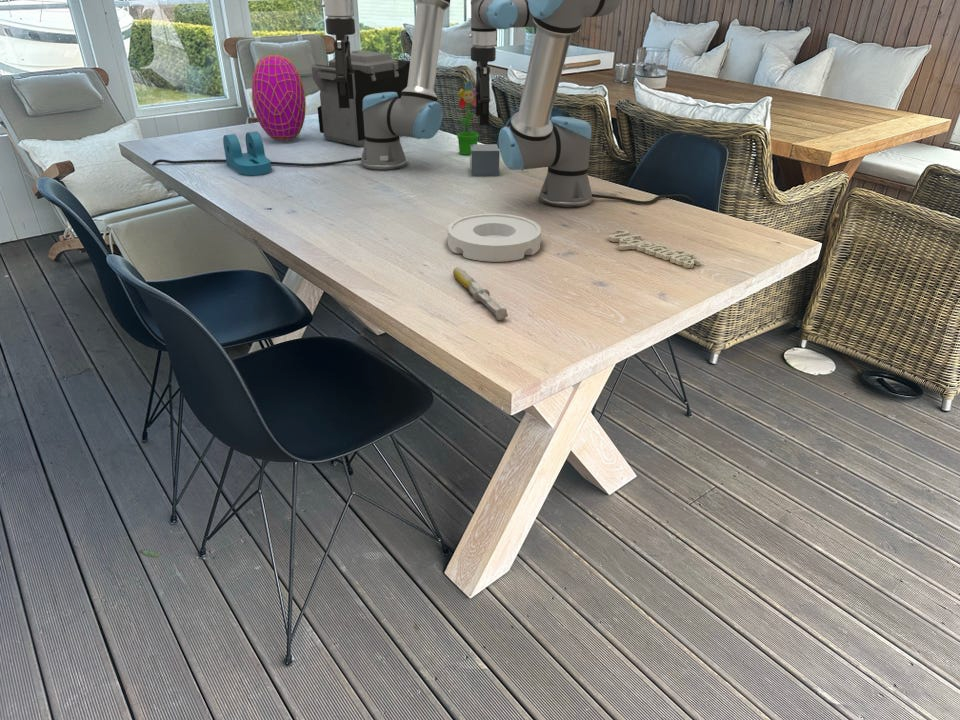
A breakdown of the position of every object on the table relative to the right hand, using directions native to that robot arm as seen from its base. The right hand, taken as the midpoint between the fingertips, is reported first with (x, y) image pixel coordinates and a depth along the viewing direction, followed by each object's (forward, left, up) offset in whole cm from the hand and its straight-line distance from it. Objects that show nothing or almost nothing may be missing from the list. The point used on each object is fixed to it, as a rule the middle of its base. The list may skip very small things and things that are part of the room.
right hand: (482, 120), depth 216 cm
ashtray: (-29, +55, -18) cm, 65 cm away
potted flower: (+17, -25, -18) cm, 35 cm away
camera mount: (+72, +28, -18) cm, 79 cm away
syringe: (-39, +85, -18) cm, 95 cm away
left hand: (+23, +39, +9) cm, 46 cm away
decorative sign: (-65, +42, -18) cm, 80 cm away
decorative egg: (+88, -10, -18) cm, 91 cm away
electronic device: (+64, -31, -18) cm, 73 cm away
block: (+1, -4, -18) cm, 18 cm away
